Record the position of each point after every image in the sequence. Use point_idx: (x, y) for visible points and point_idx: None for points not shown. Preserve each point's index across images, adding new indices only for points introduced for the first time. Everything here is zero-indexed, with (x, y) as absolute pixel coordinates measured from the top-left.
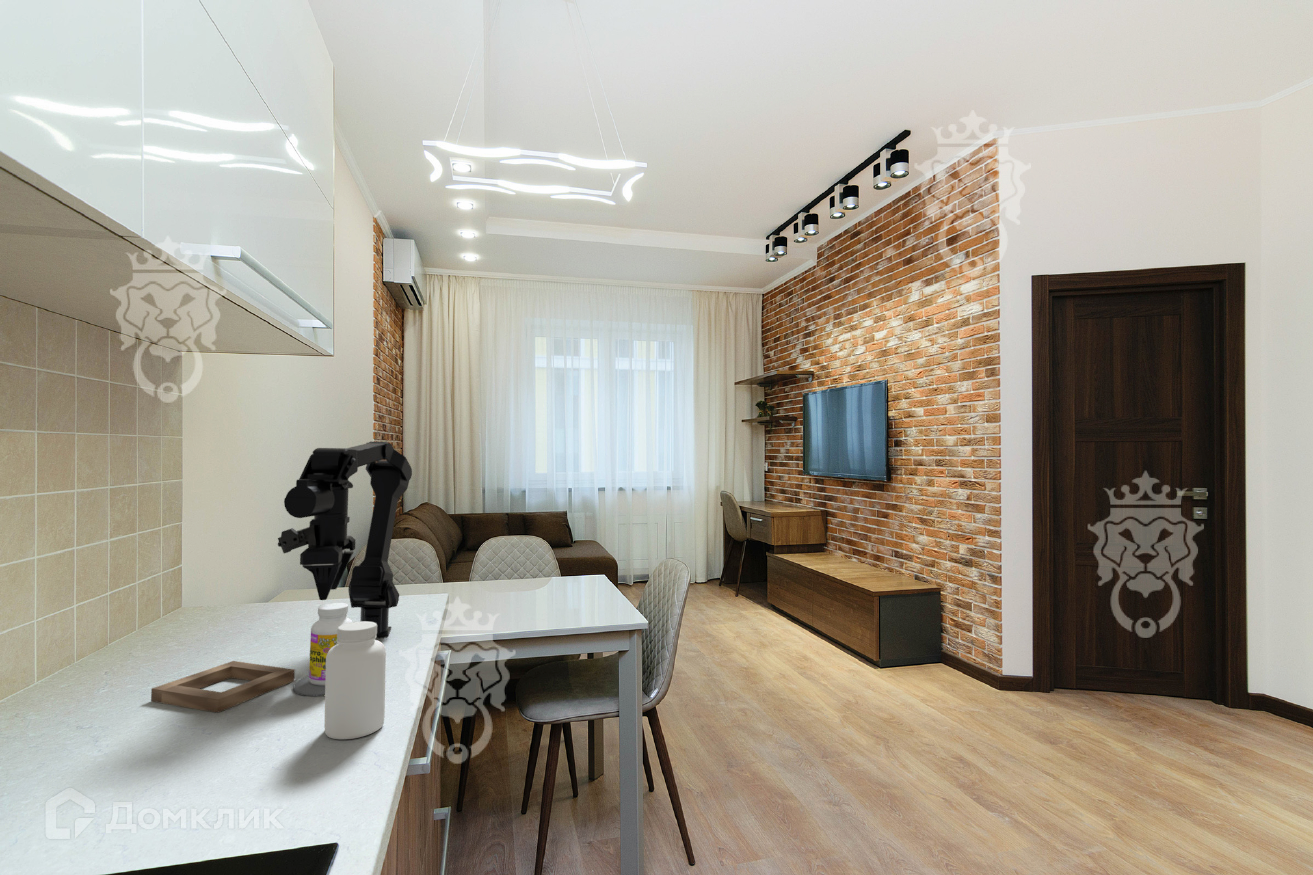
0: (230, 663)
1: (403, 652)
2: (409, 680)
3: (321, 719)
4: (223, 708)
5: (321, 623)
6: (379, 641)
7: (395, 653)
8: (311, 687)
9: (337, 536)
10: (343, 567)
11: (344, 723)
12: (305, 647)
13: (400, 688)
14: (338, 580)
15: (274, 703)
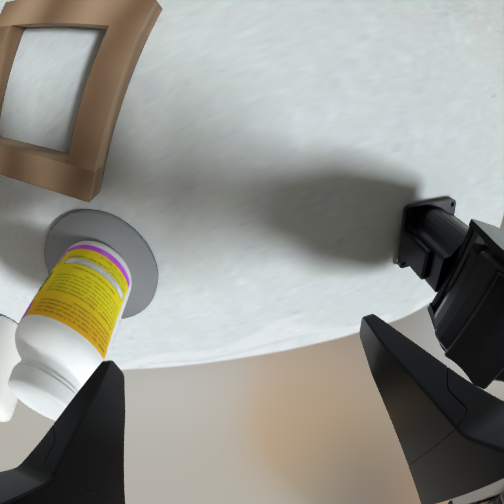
0: (133, 8)
1: (285, 323)
2: (141, 360)
3: (10, 302)
4: None
5: (21, 356)
6: (3, 421)
7: (280, 314)
8: (61, 255)
9: None
10: (405, 442)
11: None
12: (364, 102)
13: (111, 356)
14: (374, 378)
15: (16, 220)
